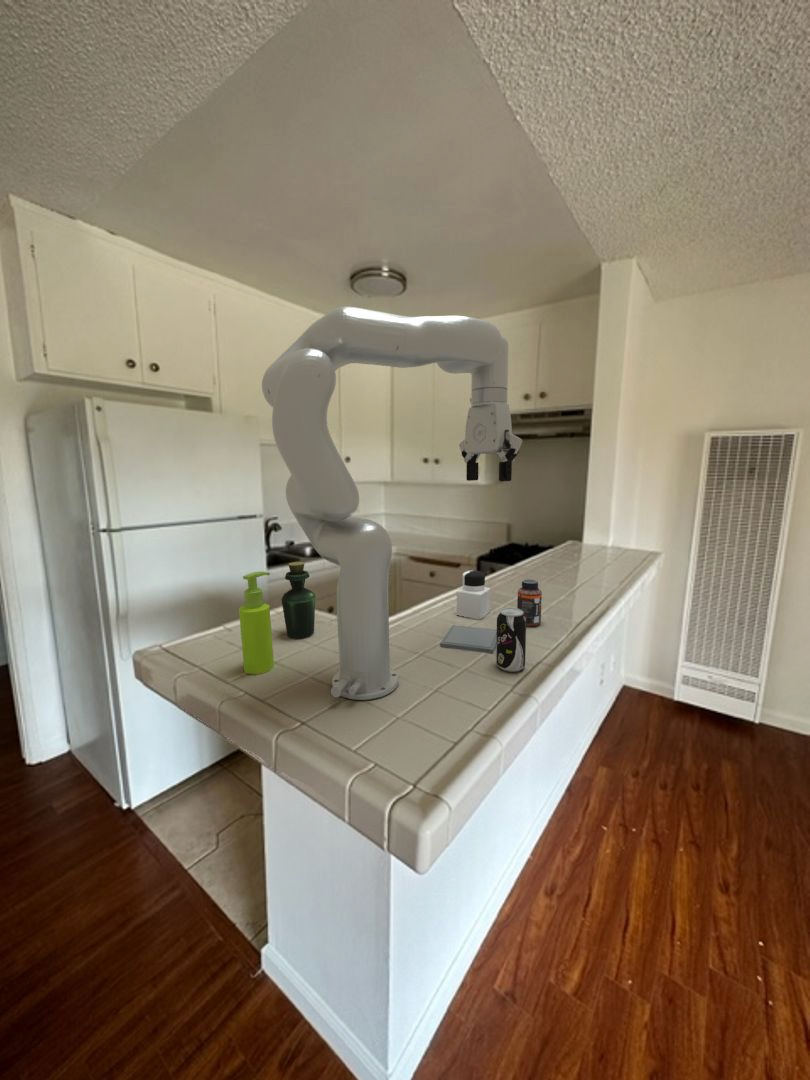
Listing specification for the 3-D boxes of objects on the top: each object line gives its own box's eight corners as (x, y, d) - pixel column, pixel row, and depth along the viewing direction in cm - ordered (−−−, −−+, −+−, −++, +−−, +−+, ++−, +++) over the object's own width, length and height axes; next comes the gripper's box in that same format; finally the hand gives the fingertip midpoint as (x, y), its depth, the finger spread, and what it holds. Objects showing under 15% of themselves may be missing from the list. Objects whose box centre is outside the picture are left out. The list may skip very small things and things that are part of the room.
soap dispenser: (283, 663, 93) (277, 571, 90) (257, 676, 87) (249, 579, 84) (264, 657, 96) (257, 568, 93) (237, 670, 90) (229, 575, 87)
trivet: (493, 653, 96) (493, 649, 96) (440, 646, 100) (440, 642, 100) (500, 633, 107) (500, 629, 107) (452, 628, 111) (452, 624, 111)
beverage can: (490, 667, 89) (491, 610, 87) (507, 658, 93) (508, 604, 91) (513, 676, 85) (514, 617, 83) (530, 667, 89) (532, 611, 87)
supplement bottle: (543, 627, 110) (545, 584, 108) (519, 627, 111) (521, 584, 109) (537, 619, 116) (538, 577, 114) (514, 619, 116) (515, 578, 115)
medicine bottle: (490, 612, 122) (491, 570, 120) (480, 620, 116) (481, 576, 114) (466, 608, 126) (467, 567, 124) (456, 615, 120) (456, 573, 118)
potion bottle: (278, 634, 109) (273, 563, 106) (307, 625, 115) (303, 558, 112) (293, 643, 103) (288, 569, 100) (323, 634, 109) (319, 563, 106)
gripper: (448, 403, 98) (449, 480, 101) (508, 392, 84) (507, 482, 87) (473, 405, 102) (472, 479, 105) (533, 395, 88) (531, 480, 91)
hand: (488, 480), depth 96 cm, fingers open, 9 cm apart
